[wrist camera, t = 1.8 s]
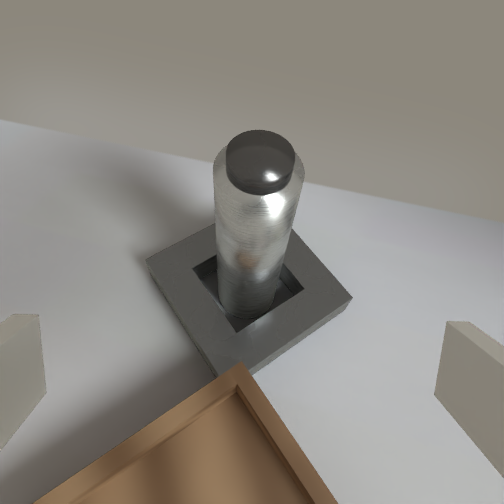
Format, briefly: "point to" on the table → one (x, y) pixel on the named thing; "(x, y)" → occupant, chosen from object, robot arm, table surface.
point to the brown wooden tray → (203, 456)
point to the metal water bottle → (254, 217)
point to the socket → (262, 330)
